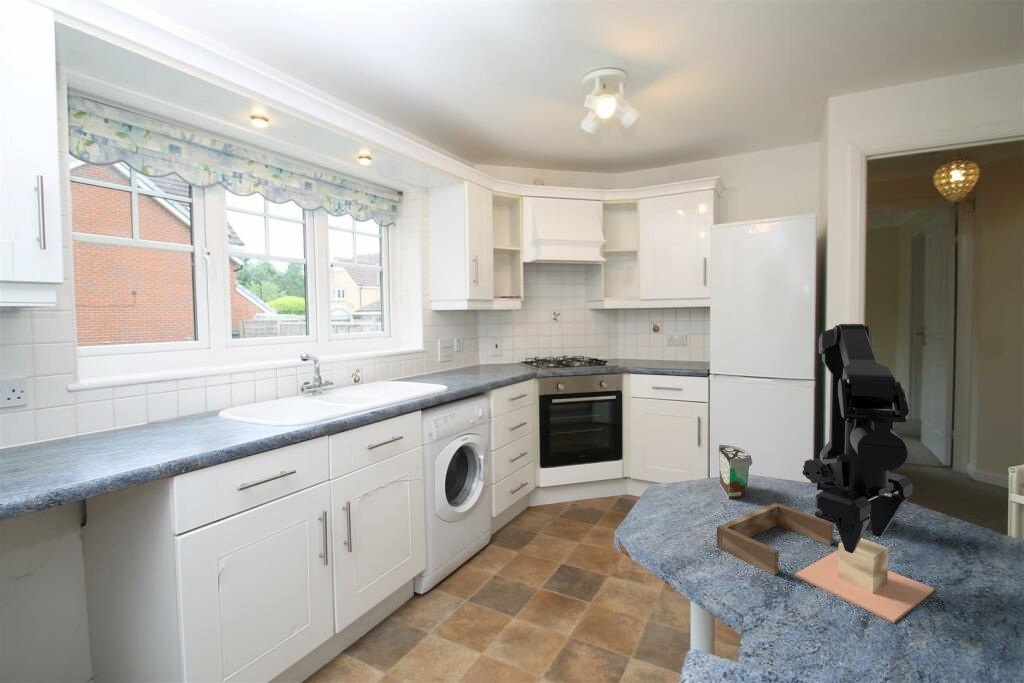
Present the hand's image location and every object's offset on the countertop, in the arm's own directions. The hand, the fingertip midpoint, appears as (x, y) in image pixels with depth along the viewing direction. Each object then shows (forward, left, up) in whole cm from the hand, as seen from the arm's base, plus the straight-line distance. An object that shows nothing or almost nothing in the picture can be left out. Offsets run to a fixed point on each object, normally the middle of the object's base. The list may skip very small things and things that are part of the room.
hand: (863, 543), depth 77 cm
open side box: (0, -15, -7) cm, 17 cm away
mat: (0, 0, -7) cm, 7 cm away
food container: (-17, -34, -7) cm, 39 cm away
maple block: (0, 0, -6) cm, 6 cm away
